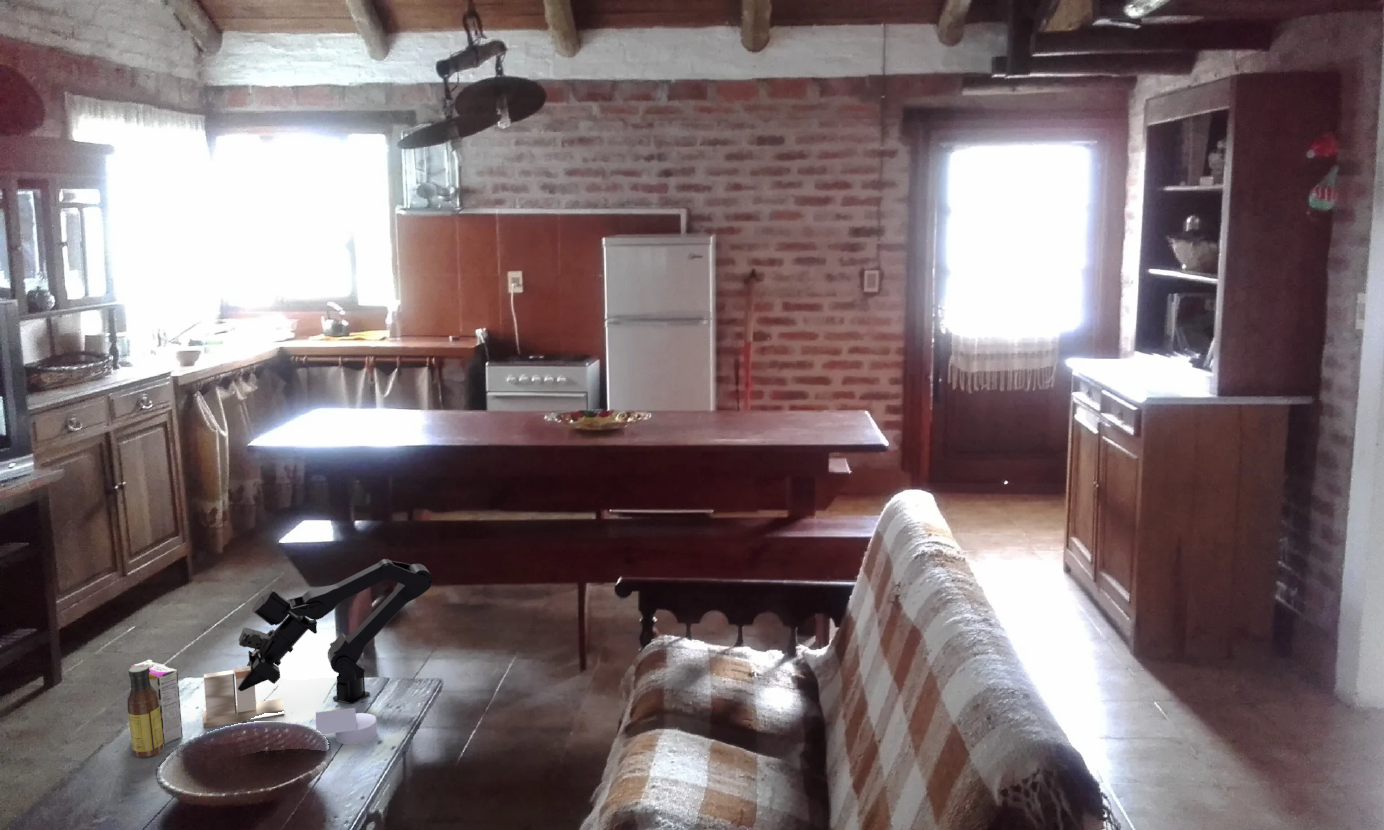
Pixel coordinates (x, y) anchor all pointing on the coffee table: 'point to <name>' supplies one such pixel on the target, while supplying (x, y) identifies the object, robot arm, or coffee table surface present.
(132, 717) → the sauce bottle
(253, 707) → the white tall block
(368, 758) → the coffee table surface
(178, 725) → the candy bar box
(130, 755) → the coffee table surface
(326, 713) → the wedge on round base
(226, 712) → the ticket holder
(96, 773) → the coffee table surface
